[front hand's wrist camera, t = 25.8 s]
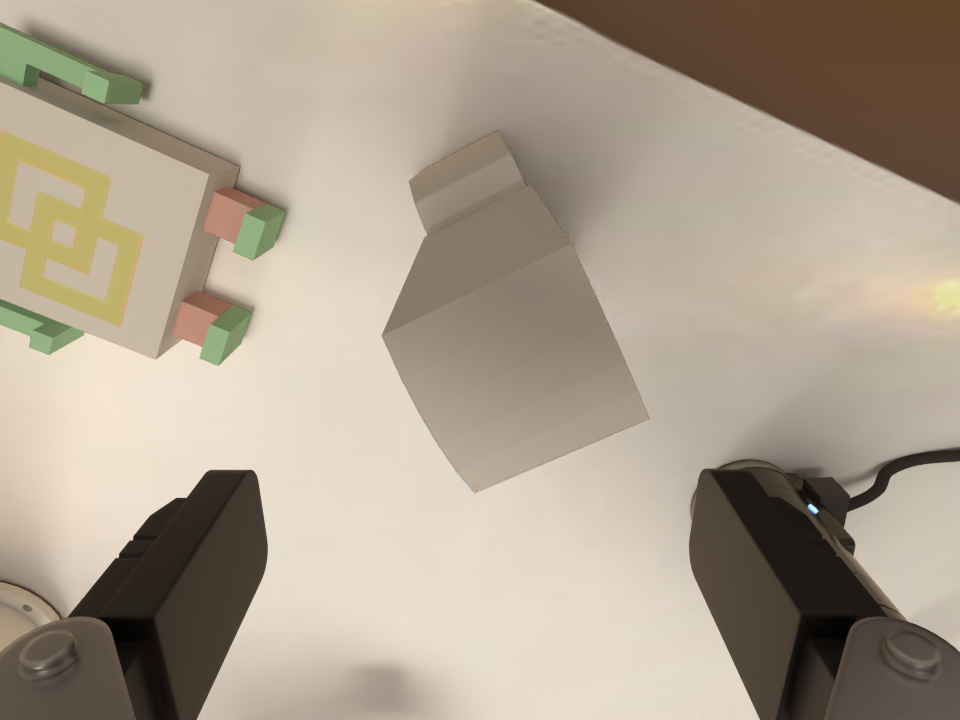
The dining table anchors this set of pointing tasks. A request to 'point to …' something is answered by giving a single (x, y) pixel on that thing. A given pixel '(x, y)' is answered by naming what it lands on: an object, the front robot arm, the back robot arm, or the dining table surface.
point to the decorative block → (111, 215)
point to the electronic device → (503, 325)
